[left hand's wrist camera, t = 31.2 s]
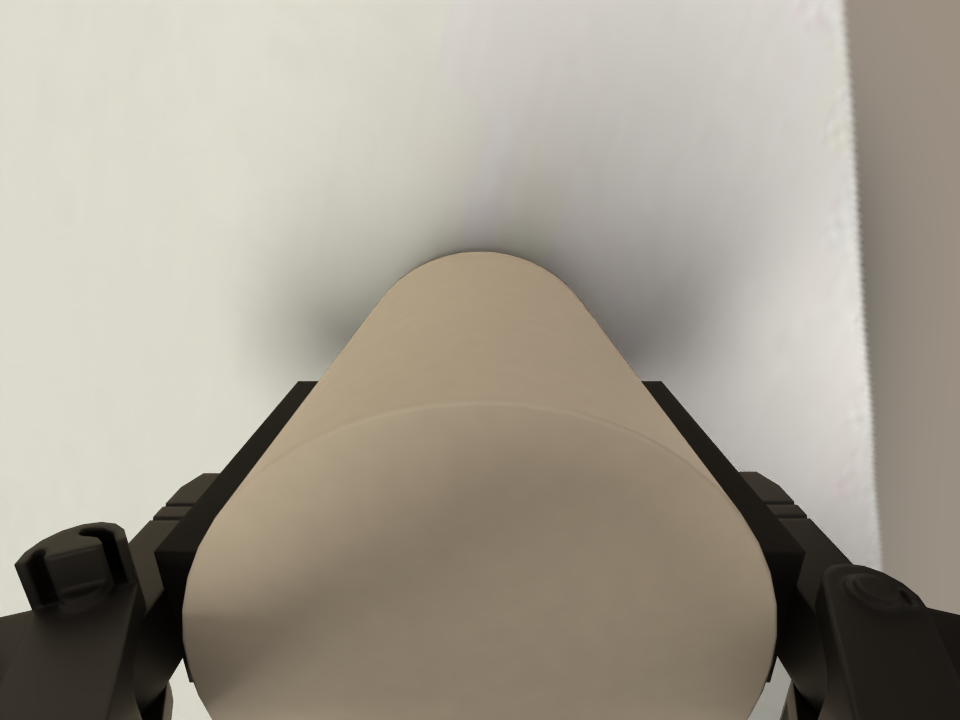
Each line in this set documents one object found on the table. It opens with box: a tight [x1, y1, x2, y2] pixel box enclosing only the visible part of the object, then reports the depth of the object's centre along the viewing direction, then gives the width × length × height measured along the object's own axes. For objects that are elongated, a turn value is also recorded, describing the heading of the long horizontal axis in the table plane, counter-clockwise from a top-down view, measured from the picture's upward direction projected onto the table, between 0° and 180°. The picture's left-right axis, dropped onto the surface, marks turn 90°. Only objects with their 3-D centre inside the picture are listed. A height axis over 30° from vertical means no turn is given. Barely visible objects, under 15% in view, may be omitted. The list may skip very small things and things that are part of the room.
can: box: [182, 251, 777, 720], centre depth 12 cm, size 8×8×11 cm
